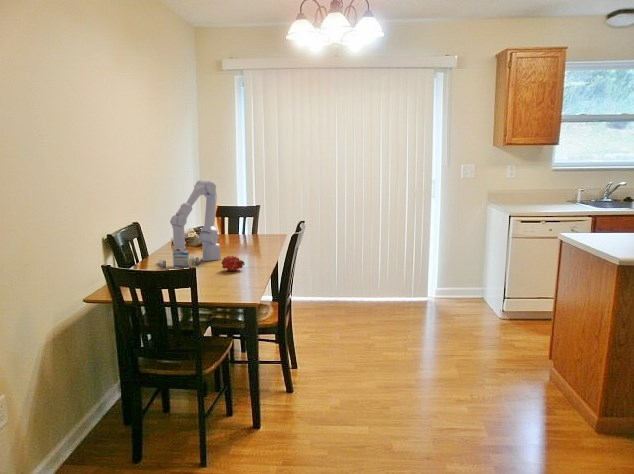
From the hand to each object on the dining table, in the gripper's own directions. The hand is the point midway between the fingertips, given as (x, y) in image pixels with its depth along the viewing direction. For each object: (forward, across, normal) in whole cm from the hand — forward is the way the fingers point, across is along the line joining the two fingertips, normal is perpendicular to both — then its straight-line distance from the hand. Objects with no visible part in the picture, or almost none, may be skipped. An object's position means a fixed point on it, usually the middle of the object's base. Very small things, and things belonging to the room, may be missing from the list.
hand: (180, 263), depth 266 cm
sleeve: (+2, -4, 0) cm, 5 cm away
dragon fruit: (+2, +22, +22) cm, 32 cm away
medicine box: (+1, +2, 0) cm, 3 cm away
